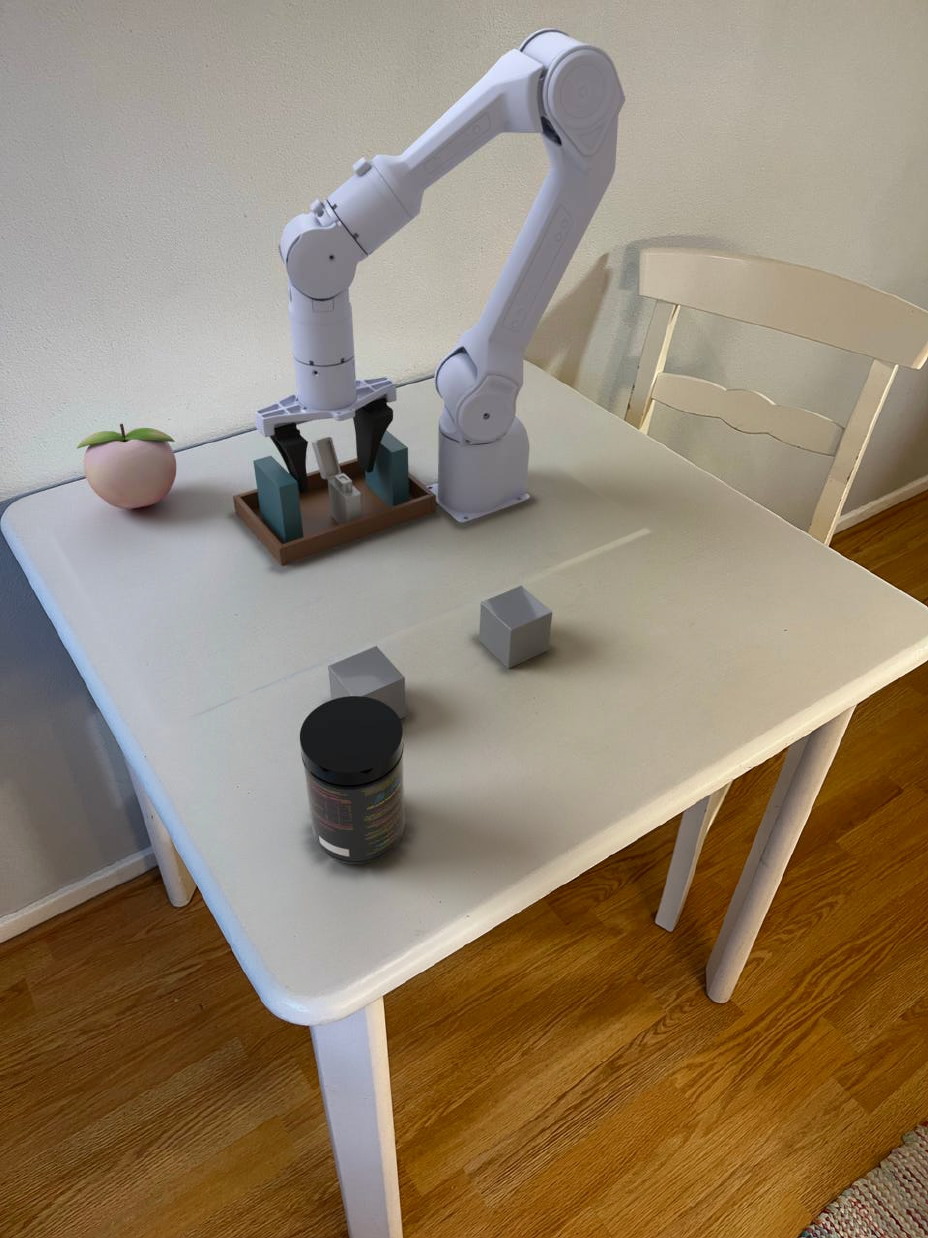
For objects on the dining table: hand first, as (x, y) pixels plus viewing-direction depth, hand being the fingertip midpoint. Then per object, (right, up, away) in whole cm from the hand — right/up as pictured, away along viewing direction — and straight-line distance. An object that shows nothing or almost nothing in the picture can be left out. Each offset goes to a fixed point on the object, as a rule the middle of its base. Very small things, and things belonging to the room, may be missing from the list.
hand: (333, 478), depth 93 cm
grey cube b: (+6, -22, -19) cm, 30 cm away
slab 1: (-5, -5, 0) cm, 8 cm away
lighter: (0, -4, +2) cm, 4 cm away
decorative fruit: (-21, -3, +3) cm, 21 cm away
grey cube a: (+18, -17, -12) cm, 28 cm away
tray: (0, -3, +3) cm, 5 cm away
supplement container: (+6, -30, -28) cm, 41 cm away
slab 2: (+5, -1, +5) cm, 8 cm away
